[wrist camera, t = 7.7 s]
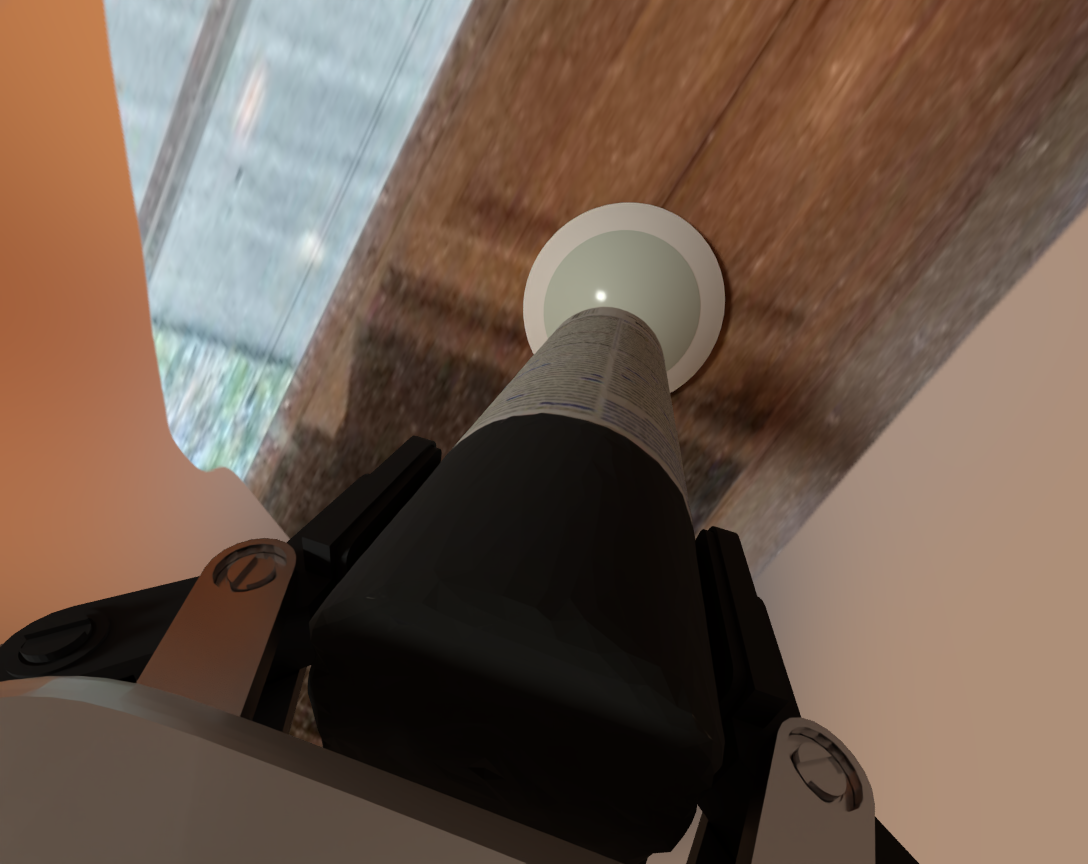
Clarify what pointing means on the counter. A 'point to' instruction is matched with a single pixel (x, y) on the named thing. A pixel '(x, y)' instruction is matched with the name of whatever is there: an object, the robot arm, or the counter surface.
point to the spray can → (540, 611)
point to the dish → (631, 281)
